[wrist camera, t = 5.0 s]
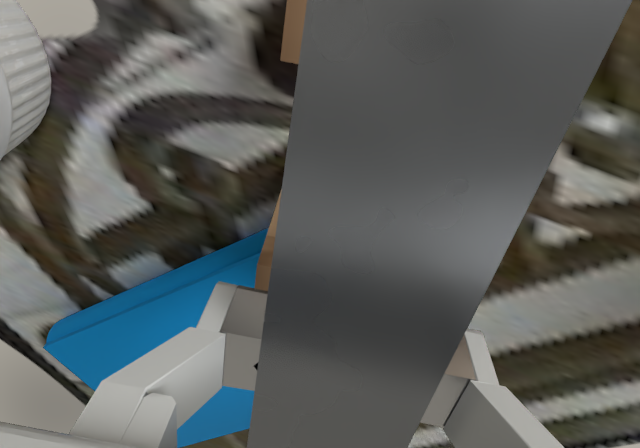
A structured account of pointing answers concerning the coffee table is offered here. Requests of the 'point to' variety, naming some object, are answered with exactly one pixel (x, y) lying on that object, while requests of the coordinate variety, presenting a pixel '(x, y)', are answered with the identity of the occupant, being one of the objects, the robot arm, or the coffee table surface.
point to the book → (161, 331)
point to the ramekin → (21, 77)
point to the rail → (406, 198)
